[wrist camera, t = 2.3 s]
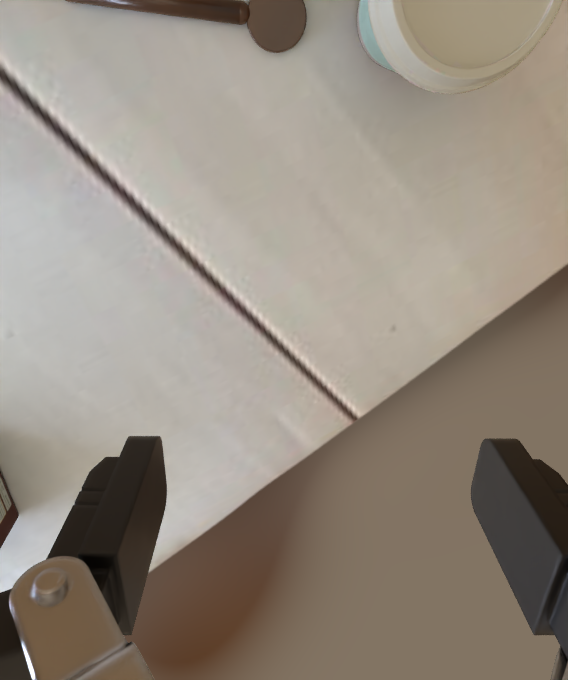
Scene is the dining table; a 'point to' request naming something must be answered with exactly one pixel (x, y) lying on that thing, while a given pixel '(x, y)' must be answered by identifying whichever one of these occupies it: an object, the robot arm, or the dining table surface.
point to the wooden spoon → (231, 16)
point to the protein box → (6, 511)
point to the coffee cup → (452, 38)
